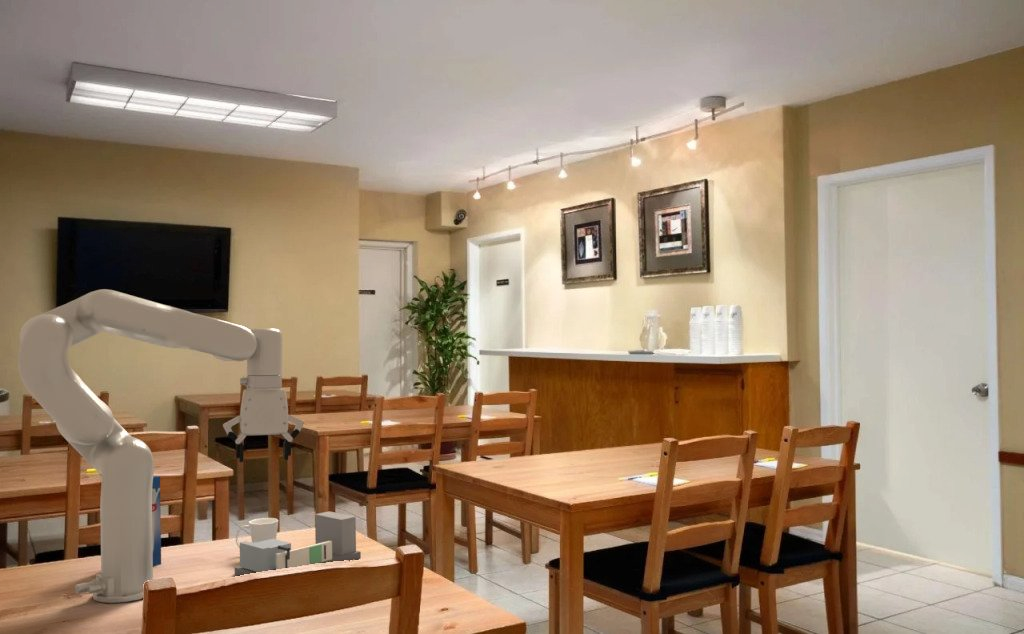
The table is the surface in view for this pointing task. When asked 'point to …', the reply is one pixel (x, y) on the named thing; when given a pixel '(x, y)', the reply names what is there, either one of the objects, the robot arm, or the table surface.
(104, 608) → the table surface
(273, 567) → the grey block
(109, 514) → the robot arm
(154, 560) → the milk carton
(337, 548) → the frame
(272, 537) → the cup
